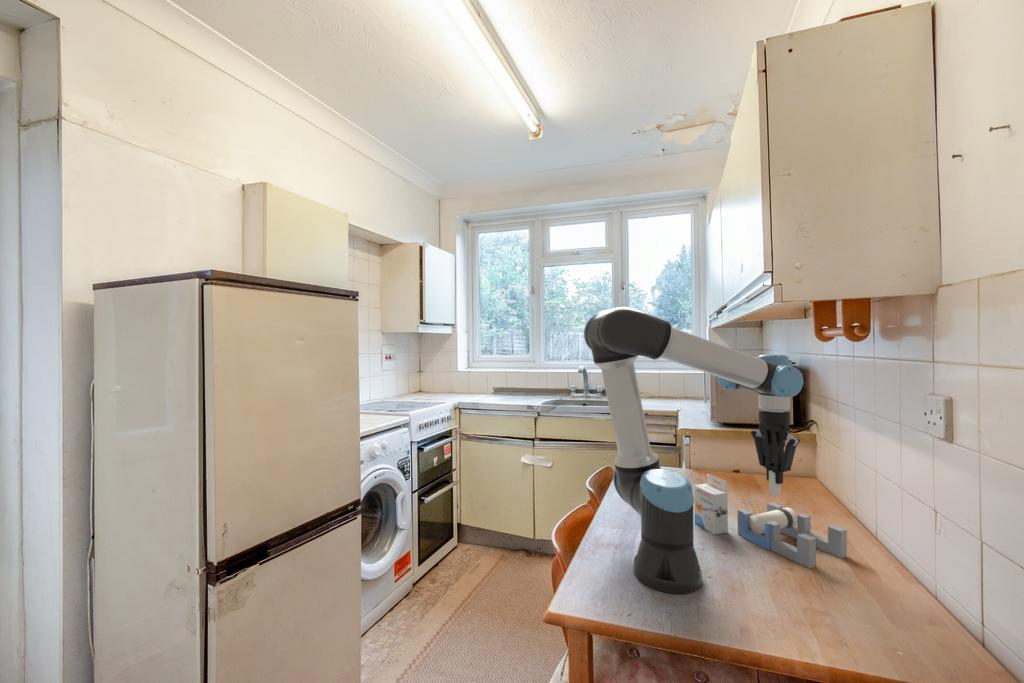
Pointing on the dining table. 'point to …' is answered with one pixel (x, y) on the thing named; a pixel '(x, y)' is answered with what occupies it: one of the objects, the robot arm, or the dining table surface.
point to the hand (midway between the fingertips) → (774, 494)
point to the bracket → (802, 533)
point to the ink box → (712, 505)
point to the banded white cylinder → (773, 519)
